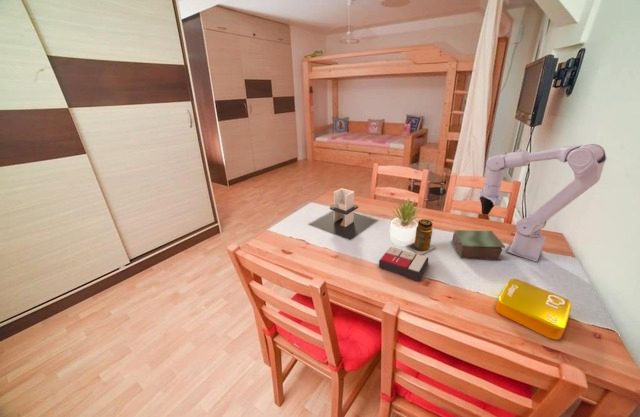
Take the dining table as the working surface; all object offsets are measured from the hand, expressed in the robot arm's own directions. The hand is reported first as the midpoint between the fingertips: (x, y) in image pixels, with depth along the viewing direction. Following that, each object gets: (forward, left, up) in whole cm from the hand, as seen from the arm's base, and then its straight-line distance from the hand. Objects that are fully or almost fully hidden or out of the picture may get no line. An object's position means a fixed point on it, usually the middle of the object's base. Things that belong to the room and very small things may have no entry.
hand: (484, 214), depth 112 cm
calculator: (+14, +43, -11) cm, 47 cm away
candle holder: (+54, +30, -11) cm, 63 cm away
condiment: (+15, +27, -11) cm, 33 cm away
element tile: (-24, +38, -11) cm, 46 cm away
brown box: (-2, +15, -10) cm, 18 cm away
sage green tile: (-2, +15, -5) cm, 16 cm away
